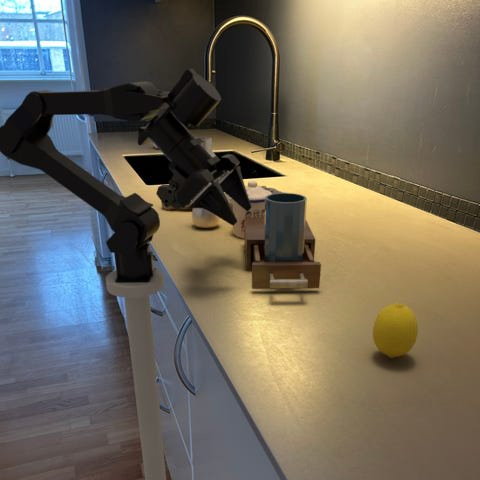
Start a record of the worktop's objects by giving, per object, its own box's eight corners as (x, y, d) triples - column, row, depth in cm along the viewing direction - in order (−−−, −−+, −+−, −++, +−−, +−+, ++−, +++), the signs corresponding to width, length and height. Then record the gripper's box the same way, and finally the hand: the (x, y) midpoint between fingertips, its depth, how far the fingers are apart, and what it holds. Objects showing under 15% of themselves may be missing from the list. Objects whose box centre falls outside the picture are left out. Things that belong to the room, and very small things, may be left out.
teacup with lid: (240, 241, 111) (239, 187, 106) (226, 230, 119) (225, 179, 113) (290, 235, 115) (292, 183, 109) (274, 224, 122) (275, 175, 117)
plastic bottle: (208, 221, 125) (206, 135, 116) (225, 227, 121) (224, 138, 111) (186, 226, 122) (182, 137, 112) (203, 232, 117) (200, 141, 108)
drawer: (323, 298, 83) (325, 274, 81) (253, 299, 82) (253, 274, 80) (308, 260, 98) (309, 238, 96) (249, 260, 98) (249, 239, 96)
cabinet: (313, 270, 96) (315, 239, 93) (246, 270, 96) (246, 239, 93) (303, 245, 109) (304, 217, 106) (244, 245, 109) (244, 217, 106)
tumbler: (276, 281, 86) (278, 204, 80) (256, 268, 92) (257, 195, 86) (309, 274, 89) (314, 199, 83) (288, 261, 95) (292, 191, 89)
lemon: (361, 357, 68) (368, 303, 64) (383, 343, 72) (391, 290, 68) (398, 373, 65) (408, 317, 61) (420, 357, 68) (430, 303, 64)
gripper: (171, 168, 98) (227, 229, 100) (126, 190, 82) (194, 262, 84) (209, 126, 92) (267, 192, 95) (169, 141, 76) (240, 219, 79)
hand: (242, 216), depth 88 cm, fingers open, 9 cm apart
